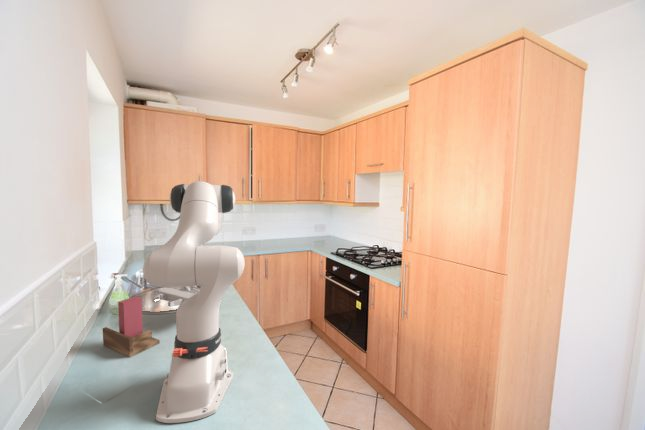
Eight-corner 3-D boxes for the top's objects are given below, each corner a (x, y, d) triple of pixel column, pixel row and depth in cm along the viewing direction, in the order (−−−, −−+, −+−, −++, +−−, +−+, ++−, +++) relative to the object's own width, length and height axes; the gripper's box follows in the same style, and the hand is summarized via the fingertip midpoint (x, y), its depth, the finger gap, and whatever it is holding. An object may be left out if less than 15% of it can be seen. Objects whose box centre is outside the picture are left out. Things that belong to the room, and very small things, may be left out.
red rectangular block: (137, 336, 103) (136, 296, 102) (142, 338, 102) (141, 297, 101) (119, 343, 98) (118, 301, 97) (125, 346, 97) (123, 303, 96)
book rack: (133, 333, 108) (132, 317, 108) (159, 343, 101) (159, 326, 100) (103, 345, 99) (102, 328, 99) (130, 357, 92) (129, 339, 92)
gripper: (175, 281, 126) (144, 290, 114) (208, 288, 117) (178, 299, 105) (176, 294, 127) (145, 305, 114) (208, 303, 118) (178, 315, 105)
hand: (161, 302), depth 109 cm, fingers open, 8 cm apart
